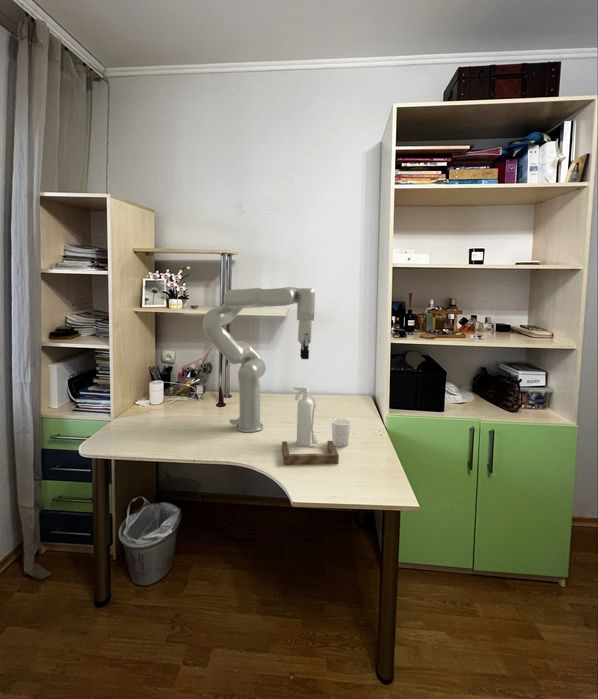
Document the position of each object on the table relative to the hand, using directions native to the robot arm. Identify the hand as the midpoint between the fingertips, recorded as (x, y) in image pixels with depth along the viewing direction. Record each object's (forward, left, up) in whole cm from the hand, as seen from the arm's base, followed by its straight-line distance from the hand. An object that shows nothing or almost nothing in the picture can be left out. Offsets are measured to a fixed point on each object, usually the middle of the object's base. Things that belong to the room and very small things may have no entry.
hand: (304, 357), depth 203 cm
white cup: (+15, -13, -35) cm, 41 cm away
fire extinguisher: (0, -12, -35) cm, 37 cm away
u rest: (0, -26, -35) cm, 43 cm away
